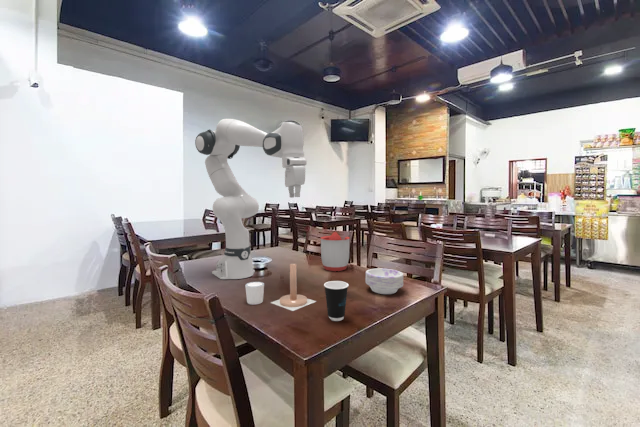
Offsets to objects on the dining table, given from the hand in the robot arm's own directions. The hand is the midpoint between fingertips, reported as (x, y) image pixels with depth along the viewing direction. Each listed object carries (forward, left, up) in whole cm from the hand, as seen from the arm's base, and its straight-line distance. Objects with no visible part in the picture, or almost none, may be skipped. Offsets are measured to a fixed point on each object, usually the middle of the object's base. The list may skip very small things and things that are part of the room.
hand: (294, 197), depth 120 cm
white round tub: (-2, -19, -39) cm, 43 cm away
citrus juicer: (-11, +40, -39) cm, 57 cm away
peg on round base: (+9, -10, -38) cm, 40 cm away
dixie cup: (+29, -10, -39) cm, 49 cm away
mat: (+9, -10, -39) cm, 41 cm away
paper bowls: (+27, +24, -39) cm, 53 cm away
